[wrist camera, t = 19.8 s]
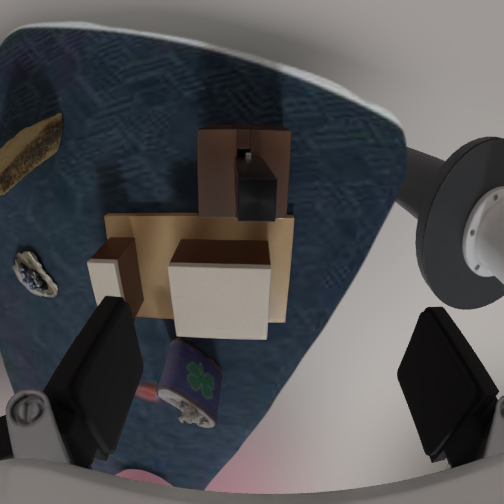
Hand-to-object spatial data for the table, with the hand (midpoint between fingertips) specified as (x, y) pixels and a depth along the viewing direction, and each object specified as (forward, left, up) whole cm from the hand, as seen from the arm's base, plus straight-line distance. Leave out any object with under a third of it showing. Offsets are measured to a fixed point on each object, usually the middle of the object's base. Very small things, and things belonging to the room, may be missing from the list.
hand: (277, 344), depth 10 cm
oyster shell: (+30, +12, -24) cm, 40 cm away
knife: (+2, -2, -23) cm, 23 cm away
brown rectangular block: (+15, +10, -23) cm, 29 cm away
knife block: (+2, -2, -24) cm, 24 cm away
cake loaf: (+4, +10, -23) cm, 25 cm away
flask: (+8, +24, -24) cm, 35 cm away
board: (+7, +10, -24) cm, 27 cm away
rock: (+27, -5, -24) cm, 36 cm away
